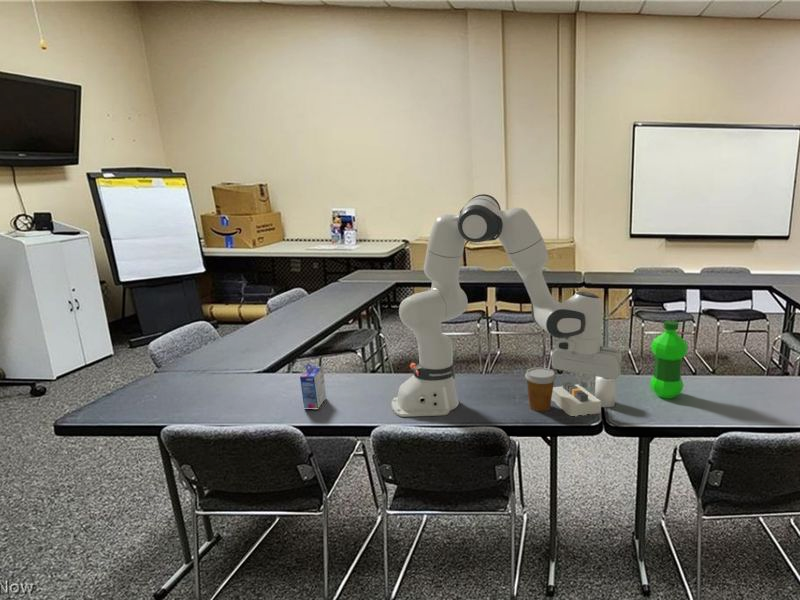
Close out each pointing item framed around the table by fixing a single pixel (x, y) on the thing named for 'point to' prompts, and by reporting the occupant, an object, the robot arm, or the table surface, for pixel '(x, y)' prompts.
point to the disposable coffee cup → (540, 388)
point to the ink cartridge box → (313, 386)
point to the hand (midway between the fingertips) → (584, 386)
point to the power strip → (575, 399)
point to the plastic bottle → (668, 361)
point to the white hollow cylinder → (605, 391)
